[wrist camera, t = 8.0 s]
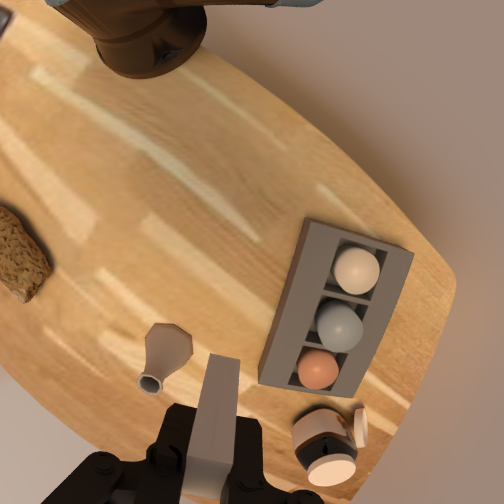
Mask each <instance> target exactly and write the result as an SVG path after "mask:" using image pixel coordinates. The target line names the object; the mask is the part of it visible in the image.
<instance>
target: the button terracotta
mask: <svg viewBox="0 0 504 504" xmlns="http://www.w3.org/2000/svg"><path fill="white" fill-rule="evenodd" d="M296 365H297V370H298V374H299V379H300V382H301V383H302V384H303V385H304V386H305V387H307V388H309V389H322V388H325V387H327V386H329V385H331V384H332V383H333V382H334V381H335V380H336V378H337V376H338V373H339V368H338V365H337V363H336V361H335V358H334V356H333V354H332V351H329V350H325V349H320V348H315V347H310V346H303V347H302V349H301V352H300V354H299V357H298V359H297V362H296Z"/></svg>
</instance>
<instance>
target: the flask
mask: <svg viewBox="0 0 504 504" xmlns="http://www.w3.org/2000/svg"><path fill="white" fill-rule="evenodd" d="M145 346H146V365H145V370H144V372H142V373H141V375H140V376H139V378H138V379H137V383H138V388H139V389H140V390H141V391H143V392H145V393H146V394H148V395H156V396H158V395H159V393H160V392H161V391H162V390H163V384H162V383H163V381H164V379H165V378H166V377H168V376H169V375H171V374H172V373H173V372H175V371H177V370H178V369H180V368H181V367H183V366H184V365H185V363H186V362H187V361H188V360H189V358H190V357H191V356H192V355H193V349H192V339H191V336H190V335H189V334H187V333H186V332H184V331H183V330H181V329H180V328H178V327H177V326H175V325H171V324H154V325H153V326H152V328H151V329H150V331H149V332H148V334H147V335H146V337H145Z"/></svg>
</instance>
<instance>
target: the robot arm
mask: <svg viewBox="0 0 504 504" xmlns="http://www.w3.org/2000/svg"><path fill="white" fill-rule="evenodd" d="M321 1H323V0H45V2H46V3H47V5H49V6H51V7H53V8H54V9H56V10H57V11H59V12H60V13H61V14H63V15H64V16H65V17H67V18H68V19H70V20H71V21H72V22H74V23H75V24H76V25H78V26H79V27H80V28H82V29H83V30H84V31H86V32H87V33H88V34H90V35H91V36H92V37H93V39H94V42H95V43H96V48H97V52H98V54H99V57H100V58H101V60H102V61H103V63H104V64H105V65H106V66H107V67H109V68H110V69H111V70H113V71H114V72H115V73H117V74H119V75H121V76H123V77H127V78H132V79H146V78H152V77H156V76H159V75H162V74H165V73H167V72H169V71H171V70H173V69H175V68H177V67H178V66H180V65H181V64H182V63H184V62H185V61H186V60H187V59H188V58H190V57H191V56H192V54H193V53H194V52H195V51H196V50H197V48H198V47H199V46H200V44H201V42H202V40H203V38H204V35H205V32H206V27H207V17H206V14H205V10H204V7H203V5H236V4H237V5H238V4H239V5H241V4H242V5H265V7H269V8H274V7H277V6H292V7H310V6H314V5H316V4H318V3H319V2H321ZM239 371H240V360H239V359H234V358H229V357H225V356H220V355H216V354H211V353H210V356H209V360H208V365H207V369H206V373H205V377H204V382H203V386H202V390H201V394H200V399H199V403H198V408H193V407H189V406H185V405H181V404H177V403H174V404H173V405H172V406H170V407H169V408H168V409H167V411H166V414H165V417H164V420H163V423H162V426H161V429H160V432H159V435H158V437H157V440H156V442H155V443H153V444H151V445H150V446H149V447H148V449H147V450H146V459H144V460H142V461H138V462H128V461H120V460H119V458H117V457H116V456H115V455H113V454H111V453H108V452H102V451H99V452H94V453H92V454H90V455H89V456H88V457H87V458H86V459H85V460H84V461H83V462H82V463H81V464H80V465H79V466H78V467H77V468H76V469H75V470H74V471H73V472H72V473H71V474H70V475H69V476H68V477H67V478H66V479H65V480H64V481H63V482H62V483H61V484H60V485H59V486H58V487H57V488H56V489H55V490H54V491H53V492H52V493H51V494H50V495H49V496H48V497H47V498H46V499H45V500H44V501H43V502H42V503H41V504H179V501H180V496H181V493H186V494H190V495H195V496H200V497H206V498H211V499H217V500H219V499H220V504H324V502H323V500H322V499H321V497H320V496H319V495H318V494H316V493H315V492H313V491H310V490H297V491H294V492H293V493H289V492H286V491H283V490H280V489H277V488H275V487H273V486H272V485H270V484H269V483H268V482H267V481H266V479H265V477H264V474H263V447H262V427H261V425H260V424H259V422H258V420H257V419H253V418H247V417H241V416H236V413H237V399H238V385H239ZM220 497H221V498H220Z"/></svg>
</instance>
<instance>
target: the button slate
mask: <svg viewBox="0 0 504 504" xmlns="http://www.w3.org/2000/svg"><path fill="white" fill-rule="evenodd" d="M314 323H315V327H316V329H317V332H318V334H319V337H320V339H321V342H322V344H323V346H324V347H325V348H326V349H328V350H329V351H332V352H345V351H348V350H350V349H351V348H353V347H354V346H355V345H356V344H357V343H358V342H359V341H360V339H361V337H362V334H363V324H362V322H361V320H360V319H359V317H358V316H357V315H356V313H355V312H354V310H353V309H352V308H351V306H350V305H349V304H348V303H346V302H344V301H341V300H333V301H329V302H327V303H325V304H324V305H322V306H321V307H320V308H319V310H318V311H317V313H316V315H315V320H314Z"/></svg>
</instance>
